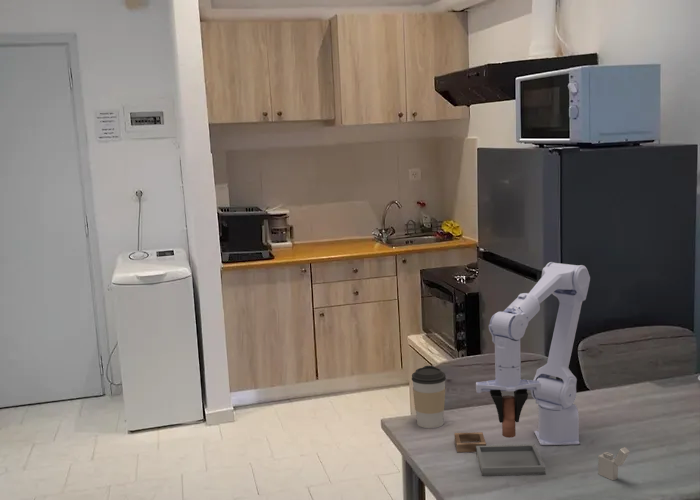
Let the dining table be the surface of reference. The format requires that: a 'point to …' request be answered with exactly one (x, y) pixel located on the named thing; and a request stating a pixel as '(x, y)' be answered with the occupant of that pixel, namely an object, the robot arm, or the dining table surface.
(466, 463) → the dining table surface
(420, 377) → the coffee cup
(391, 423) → the dining table surface
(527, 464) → the tray
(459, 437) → the collar
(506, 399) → the dowel
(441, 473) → the dining table surface
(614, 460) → the lighter
